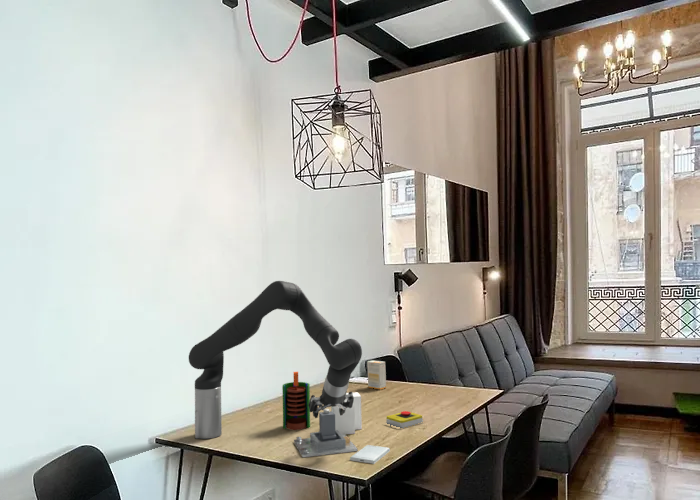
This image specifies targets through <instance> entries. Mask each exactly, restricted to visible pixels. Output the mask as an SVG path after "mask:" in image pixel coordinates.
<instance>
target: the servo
mask: <svg viewBox="0 0 700 500" xmlns="http://www.w3.org/2000/svg"><path fill="white" fill-rule="evenodd" d="M322 411H323V412H322ZM322 411H321V412H320V411H319V413H318V418H319V419H318V421H319V424H318V425H319V429H318V430H319V431H318V432H319V435H320V441H327V440H336V433H335V414H334V413H333V412H332V411H331V410H330V408H325V409H324V410H322Z"/></svg>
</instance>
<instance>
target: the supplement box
mask: <svg viewBox="0 0 700 500" xmlns="http://www.w3.org/2000/svg"><path fill="white" fill-rule="evenodd" d="M366 362H367V363H366V364H367V388H369V389H373V388H374V389H373V390H380V391H381V390H384V388H385V389H387V375H386V374H387V372H386V361H381V360H373V359H372V360H368V361H366Z"/></svg>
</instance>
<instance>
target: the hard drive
mask: <svg viewBox="0 0 700 500" xmlns="http://www.w3.org/2000/svg"><path fill="white" fill-rule="evenodd" d="M390 451H391V449H390V447H387V446H380V445H370V444H367V445H365V446H364V447H363V448H361V449H360V450H358V451H356V452H355V453H354V454H353V455H351V456H350V457H349V461H353V462H358V463H359V462H360V463H366V464H372V465H374V464H376V463H377V462H378V461H379V460H381V459H382V458H383V457H385V456H386V455H387V454H388V453H389V452H390Z"/></svg>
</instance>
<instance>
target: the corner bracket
mask: <svg viewBox="0 0 700 500" xmlns="http://www.w3.org/2000/svg"><path fill="white" fill-rule="evenodd" d="M352 393H353V397H354V401H353V405H352V408H349V407H348V408H347V409H346V410H345V413H344V414H343V415H340V413H339V407H338V406H335V407H333V406H331V407H330V411H332V412H333V413H334V414H335V430H338V431H339V433H340V434H341V435H342V434H345V435H352V434H356V430H362V428H363V427H362V426H363V423H362V421H363V420H362V419H363V418H362V396H361V394H360V393H359V392H357V391H356V392H352ZM347 394H349V392H346V395H347ZM344 401H345V402H347V399H345V400H344Z"/></svg>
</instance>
